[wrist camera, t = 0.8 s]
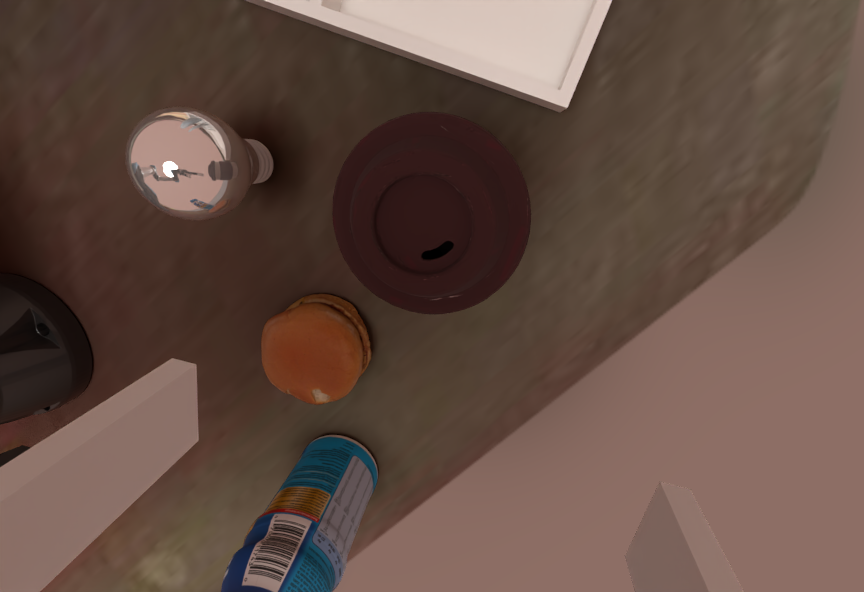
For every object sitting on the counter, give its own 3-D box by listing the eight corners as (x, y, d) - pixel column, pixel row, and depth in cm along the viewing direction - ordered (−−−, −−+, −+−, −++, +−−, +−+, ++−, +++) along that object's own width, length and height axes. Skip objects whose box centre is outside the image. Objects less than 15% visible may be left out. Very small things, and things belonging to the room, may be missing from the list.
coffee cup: (401, 116, 32) (321, 95, 18) (534, 133, 31) (555, 124, 17) (390, 244, 36) (315, 308, 22) (509, 263, 35) (510, 343, 21)
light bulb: (217, 114, 35) (79, 100, 24) (298, 115, 34) (194, 100, 22) (229, 202, 37) (109, 227, 26) (305, 205, 36) (214, 233, 25)
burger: (330, 272, 38) (307, 289, 33) (395, 353, 39) (381, 379, 35) (257, 328, 41) (227, 350, 37) (319, 400, 43) (298, 430, 38)
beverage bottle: (397, 471, 44) (315, 714, 25) (345, 509, 47) (237, 753, 28) (336, 415, 43) (204, 626, 24) (287, 458, 46) (135, 676, 27)
